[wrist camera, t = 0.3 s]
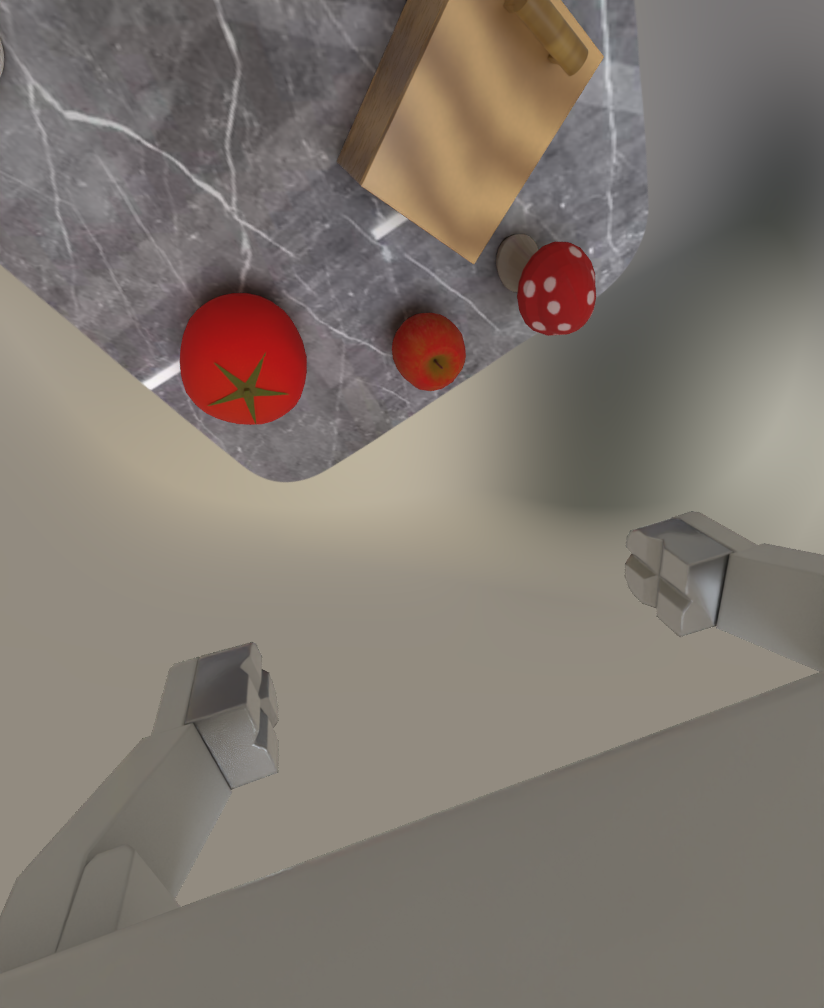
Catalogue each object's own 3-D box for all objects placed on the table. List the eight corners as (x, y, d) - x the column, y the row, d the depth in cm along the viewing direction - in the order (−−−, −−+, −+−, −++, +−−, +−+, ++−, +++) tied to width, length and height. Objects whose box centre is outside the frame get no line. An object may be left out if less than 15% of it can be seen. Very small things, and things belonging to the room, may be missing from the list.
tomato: (302, 284, 53) (320, 329, 45) (296, 393, 62) (309, 447, 54) (174, 269, 49) (169, 316, 41) (186, 389, 57) (184, 447, 49)
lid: (486, -90, 31) (519, -104, 28) (598, 56, 39) (635, 58, 35) (359, 183, 40) (372, 197, 36) (470, 262, 47) (490, 279, 44)
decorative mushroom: (554, 277, 62) (623, 326, 52) (495, 313, 63) (551, 368, 52) (536, 199, 54) (613, 238, 44) (470, 241, 55) (530, 289, 45)
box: (431, -56, 39) (479, -74, 32) (534, 62, 46) (591, 67, 39) (336, 161, 46) (358, 183, 40) (437, 232, 54) (470, 261, 47)
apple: (441, 357, 65) (472, 399, 57) (380, 364, 63) (404, 409, 55) (446, 292, 59) (481, 329, 51) (379, 297, 57) (405, 338, 49)
